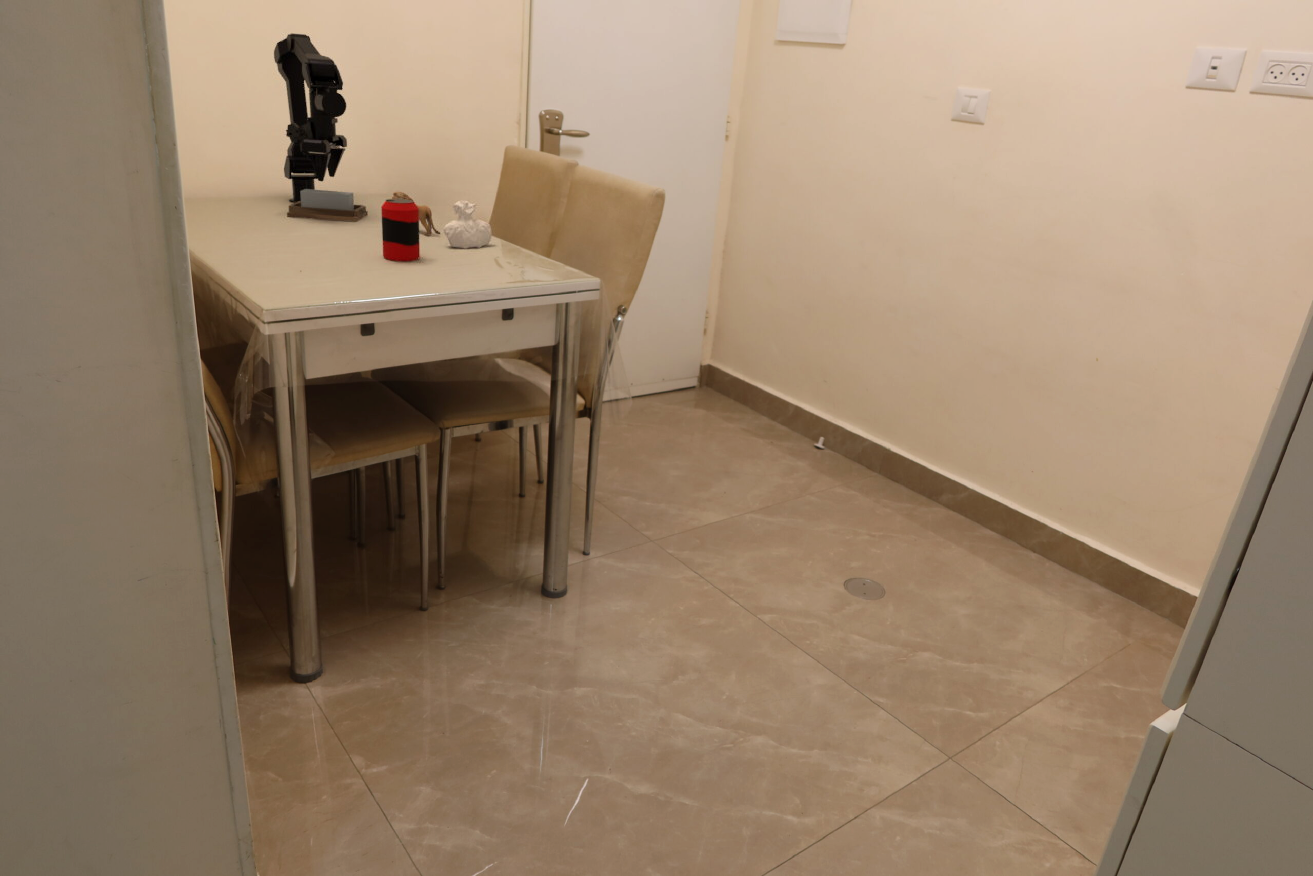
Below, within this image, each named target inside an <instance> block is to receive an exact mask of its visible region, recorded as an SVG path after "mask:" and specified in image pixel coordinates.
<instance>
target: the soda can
mask: <svg viewBox="0 0 1313 876" xmlns="http://www.w3.org/2000/svg"><path fill="white" fill-rule="evenodd" d="M412 200H413V199H412ZM412 200H408V199H392V198H388V199H385V201H384V203H383V204H382V205H381V207H380V208H381V234H382V235H381V237H382V257H384V259H386V260H388V261H393V262H413V261H417V260H419V258H421V257H420V255H421V253H420V251H421V250H420V220H419V208H418V207H417V204H416V203H415V201H414V200H413V201H412Z"/></svg>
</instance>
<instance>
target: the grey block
mask: <svg viewBox="0 0 1313 876" xmlns="http://www.w3.org/2000/svg"><path fill="white" fill-rule="evenodd" d="M300 193H301V207H312V208H326V209H339V210H352V211H354V205H355V203H354V201H355V200H354V198H355V197H354V192H348V191H337V190H323V189H321V190H319V189H315V190H312V189H304V190H302V191H300Z"/></svg>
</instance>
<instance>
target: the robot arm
mask: <svg viewBox="0 0 1313 876" xmlns="http://www.w3.org/2000/svg"><path fill="white" fill-rule="evenodd" d="M311 41H312V40H311V37H310V36H309V35H307V34H306V33H305V34H304V33H303V34H302V33H290V34H289V33H288V34H287V36H286V38H283V39H282V40H280V41H277V43H276V44H275V47H274V50H273V59H274V63H275V64H276V66H277V71H278V73H279V74H280V75H281V77H282V78H283V80H284V81H285V85H286V95H287V105H288V113H289V121H290V124H287V127H286V130H285V131H286V134H285V135H286V137H287V138H289V140H290V143H289V145H288V147H287V149H286V150H287V151H286V152H287V155H286V157H285V161H284V162H285V163H284V168H283V173H284V178H286V179H288V180H291V184H292V185H291V186H292V187H291V188H292V198H290V199H288V202H290V203H296V202H298V201H301V193H300V191H302V190H304V189H312V190H316V189H315V180H318V182H324V180H325V177H326V173H327V172H328V175H329V177H330V178H335V175H336V172H337V170H338V167H339V165H340V163H341V160H342V157H343V155H344V153H345V151H346V148H348V141H347V138H346V137H345V136H344V135H342V134H337V130H336V129H337V128H336V124H338V117H341V116H343V115H344V114H345V112H346V110H347V102H346V99H345V98H344V96H343V95H342V94H341V93H339V92H338V91H343V85H344V82H343V79H342V76H341V73H340V70H339V68H338V66H337V64H336V63H335V62H334V61H335V60H333V58H331V57H329V56H325V55H322V54H321V53H320V52H319V51H318V49H317V48H316V47H315V45H314V44H313V43H312V42H311ZM305 84H306V86H307V89H308V96H309V98H308V99H309V100H308V101H309V112H310V113H309V114H308V106H307V96H306V95H307V94H306V87H305ZM308 115H310V116H308Z"/></svg>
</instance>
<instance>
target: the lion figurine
mask: <svg viewBox="0 0 1313 876" xmlns="http://www.w3.org/2000/svg"><path fill="white" fill-rule="evenodd" d="M392 194H393V196H392V197H391V199H408V200H412V201H414V200H413V198H411V197H410V196H409V195H408V194H406V193H405V192H402V191H400V190H399V191H394V193H392ZM416 205H417V204H416ZM417 207H418V208H419V222H420V224H421V225H422V226H423V228H424V229H425V230H426V231H425V232H424V236H427V237H429V236H430V235H431V233H432V230H433V231H434V233H435V234H436V235H441V232H440V231H438V230H437V229H436V228H435V225H434V223H433V218H432V215H433V214H432V210H431V208H430V207H429V206H427V205H417Z"/></svg>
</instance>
